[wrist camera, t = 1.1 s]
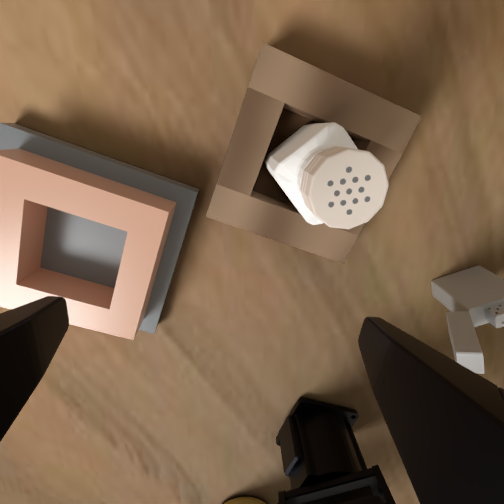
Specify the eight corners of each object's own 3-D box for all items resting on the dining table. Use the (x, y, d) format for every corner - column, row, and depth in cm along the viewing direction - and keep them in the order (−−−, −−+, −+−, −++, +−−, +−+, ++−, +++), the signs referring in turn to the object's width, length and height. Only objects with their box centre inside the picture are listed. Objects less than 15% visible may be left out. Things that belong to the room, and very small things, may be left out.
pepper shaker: (308, 119, 19) (368, 112, 11) (340, 169, 21) (416, 199, 12) (260, 159, 20) (278, 182, 11) (293, 204, 21) (332, 257, 13)
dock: (199, 189, 21) (192, 201, 17) (157, 324, 25) (145, 355, 21) (14, 123, 19) (-36, 121, 15) (2, 283, 23) (-40, 310, 19)
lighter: (480, 264, 24) (588, 323, 17) (481, 281, 25) (585, 346, 17) (395, 291, 25) (462, 360, 17) (398, 308, 25) (465, 381, 18)
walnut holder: (400, 118, 20) (422, 116, 17) (332, 250, 23) (343, 263, 21) (259, 53, 18) (262, 42, 15) (208, 207, 21) (205, 216, 19)
